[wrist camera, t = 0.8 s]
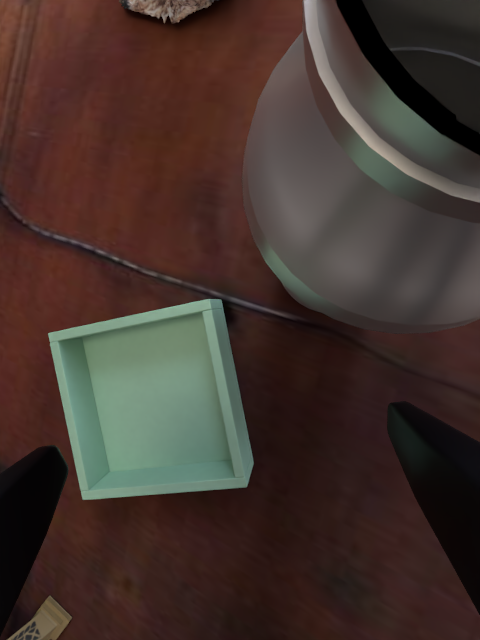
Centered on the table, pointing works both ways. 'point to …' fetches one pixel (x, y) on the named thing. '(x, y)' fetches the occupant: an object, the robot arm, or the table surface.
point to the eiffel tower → (44, 623)
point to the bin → (153, 403)
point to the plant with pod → (166, 7)
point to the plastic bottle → (373, 164)
